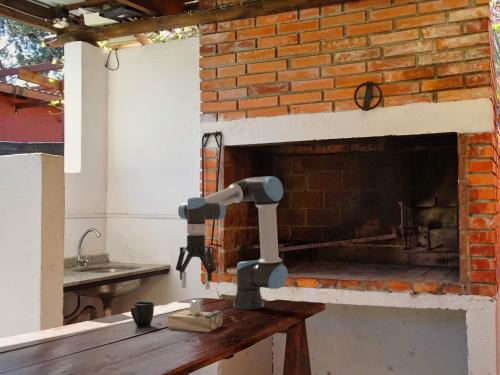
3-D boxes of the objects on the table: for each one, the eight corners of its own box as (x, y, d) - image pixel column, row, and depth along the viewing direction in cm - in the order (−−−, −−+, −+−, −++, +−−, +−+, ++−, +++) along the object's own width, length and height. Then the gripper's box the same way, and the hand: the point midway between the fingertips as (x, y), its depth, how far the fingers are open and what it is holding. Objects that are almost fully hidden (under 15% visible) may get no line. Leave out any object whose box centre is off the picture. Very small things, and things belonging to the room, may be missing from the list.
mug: (123, 328, 225) (123, 304, 226) (142, 323, 236) (142, 300, 236) (139, 330, 221) (139, 306, 222) (157, 325, 232) (157, 302, 232)
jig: (183, 322, 239) (183, 307, 239) (222, 325, 233) (222, 310, 233) (167, 328, 226) (167, 313, 226) (208, 331, 219) (208, 315, 220)
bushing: (193, 321, 232) (193, 300, 233) (202, 322, 231) (202, 300, 231) (188, 323, 228) (188, 301, 228) (198, 324, 226) (198, 302, 227)
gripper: (167, 234, 231) (166, 288, 230) (217, 235, 223) (217, 290, 222) (175, 233, 238) (175, 286, 237) (224, 234, 231) (224, 288, 229)
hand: (195, 288), depth 230 cm, fingers open, 10 cm apart
